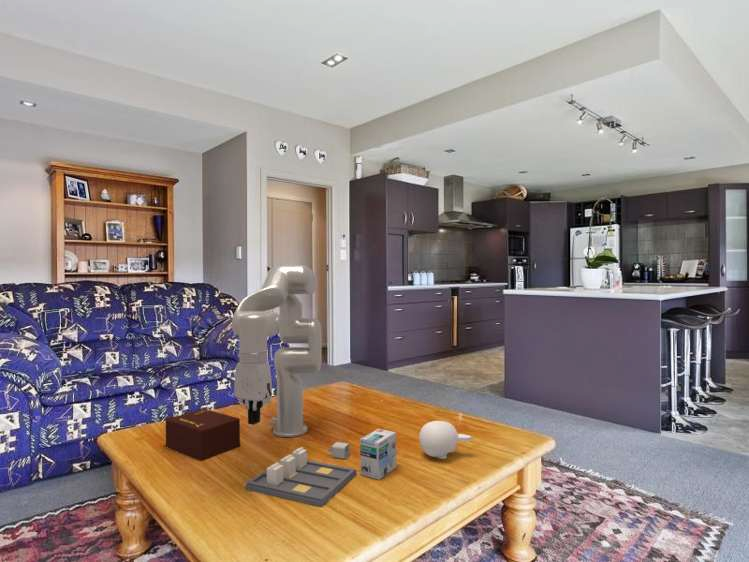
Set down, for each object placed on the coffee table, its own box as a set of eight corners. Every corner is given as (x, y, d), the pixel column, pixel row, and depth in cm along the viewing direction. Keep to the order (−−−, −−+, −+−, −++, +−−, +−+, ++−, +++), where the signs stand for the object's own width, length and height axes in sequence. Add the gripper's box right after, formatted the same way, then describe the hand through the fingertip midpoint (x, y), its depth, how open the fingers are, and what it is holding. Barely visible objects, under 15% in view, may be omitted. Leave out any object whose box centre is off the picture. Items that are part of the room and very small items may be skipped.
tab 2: (280, 475, 128) (279, 457, 128) (287, 470, 131) (286, 453, 131) (288, 477, 127) (288, 459, 127) (295, 472, 130) (295, 455, 130)
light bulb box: (379, 480, 127) (378, 443, 127) (359, 475, 131) (359, 438, 131) (397, 467, 136) (397, 431, 136) (378, 462, 140) (378, 427, 140)
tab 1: (266, 484, 122) (266, 466, 122) (274, 479, 126) (274, 461, 126) (275, 486, 121) (275, 468, 121) (283, 481, 124) (283, 463, 124)
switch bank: (245, 489, 123) (245, 482, 123) (287, 461, 141) (287, 455, 141) (321, 507, 113) (321, 500, 113) (356, 474, 131) (356, 468, 131)
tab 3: (292, 467, 133) (292, 450, 133) (298, 462, 137) (298, 446, 136) (300, 468, 132) (300, 451, 132) (306, 464, 135) (306, 447, 135)
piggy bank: (429, 469, 138) (465, 462, 146) (438, 436, 135) (475, 431, 143) (407, 445, 148) (442, 440, 156) (415, 414, 145) (451, 410, 153)
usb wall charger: (344, 459, 142) (344, 447, 142) (324, 457, 144) (324, 444, 144) (349, 455, 146) (349, 442, 146) (330, 452, 148) (330, 440, 148)
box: (243, 445, 155) (243, 416, 155) (201, 462, 142) (201, 430, 142) (207, 433, 167) (207, 407, 167) (165, 447, 154) (164, 418, 154)
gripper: (223, 358, 126) (223, 423, 126) (266, 362, 119) (267, 430, 120) (241, 354, 132) (242, 416, 133) (283, 357, 126) (284, 422, 126)
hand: (254, 422), depth 126 cm, fingers closed
